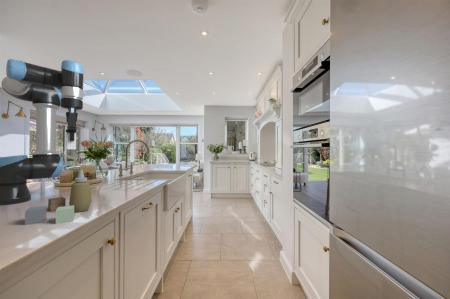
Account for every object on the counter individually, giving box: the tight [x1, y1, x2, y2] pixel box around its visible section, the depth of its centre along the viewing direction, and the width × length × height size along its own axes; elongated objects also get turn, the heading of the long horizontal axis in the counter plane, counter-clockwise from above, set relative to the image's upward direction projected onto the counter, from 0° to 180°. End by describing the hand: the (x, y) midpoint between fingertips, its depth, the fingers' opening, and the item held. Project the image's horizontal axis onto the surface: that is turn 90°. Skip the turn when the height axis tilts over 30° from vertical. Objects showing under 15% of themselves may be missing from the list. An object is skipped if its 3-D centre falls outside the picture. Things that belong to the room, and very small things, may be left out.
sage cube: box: [55, 205, 75, 225], centre depth 78 cm, size 5×5×5 cm
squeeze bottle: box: [68, 169, 92, 213], centre depth 91 cm, size 8×8×18 cm
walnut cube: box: [47, 196, 67, 213], centre depth 92 cm, size 5×5×5 cm
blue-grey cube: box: [24, 205, 47, 226], centre depth 76 cm, size 5×5×5 cm
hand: (71, 149), depth 87 cm, fingers open, 13 cm apart
